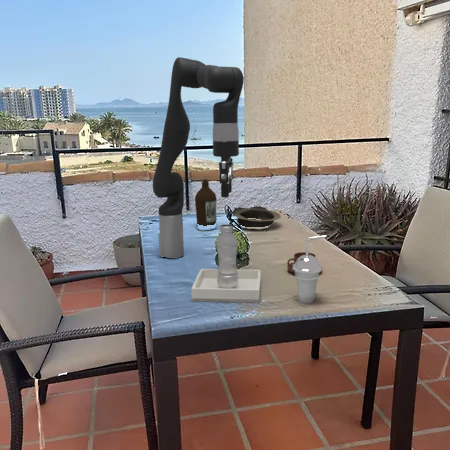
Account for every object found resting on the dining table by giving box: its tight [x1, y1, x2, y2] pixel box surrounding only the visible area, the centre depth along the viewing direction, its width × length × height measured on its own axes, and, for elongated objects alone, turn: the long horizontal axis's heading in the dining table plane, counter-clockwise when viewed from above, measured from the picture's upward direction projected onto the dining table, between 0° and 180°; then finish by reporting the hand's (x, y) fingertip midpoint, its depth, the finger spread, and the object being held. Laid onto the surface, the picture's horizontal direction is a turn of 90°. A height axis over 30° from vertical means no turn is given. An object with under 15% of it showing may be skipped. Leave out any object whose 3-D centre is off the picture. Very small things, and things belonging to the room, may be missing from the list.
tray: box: [190, 268, 262, 304], centre depth 135 cm, size 20×18×4 cm
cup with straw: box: [292, 235, 327, 304], centre depth 125 cm, size 8×9×20 cm
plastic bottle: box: [215, 223, 239, 289], centre depth 133 cm, size 6×7×20 cm
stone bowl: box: [231, 205, 281, 227], centre depth 218 cm, size 25×25×9 cm
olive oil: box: [194, 178, 217, 226], centre depth 214 cm, size 11×11×25 cm
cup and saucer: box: [286, 251, 316, 274], centre depth 151 cm, size 12×12×6 cm
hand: (226, 194), depth 128 cm, fingers open, 8 cm apart
